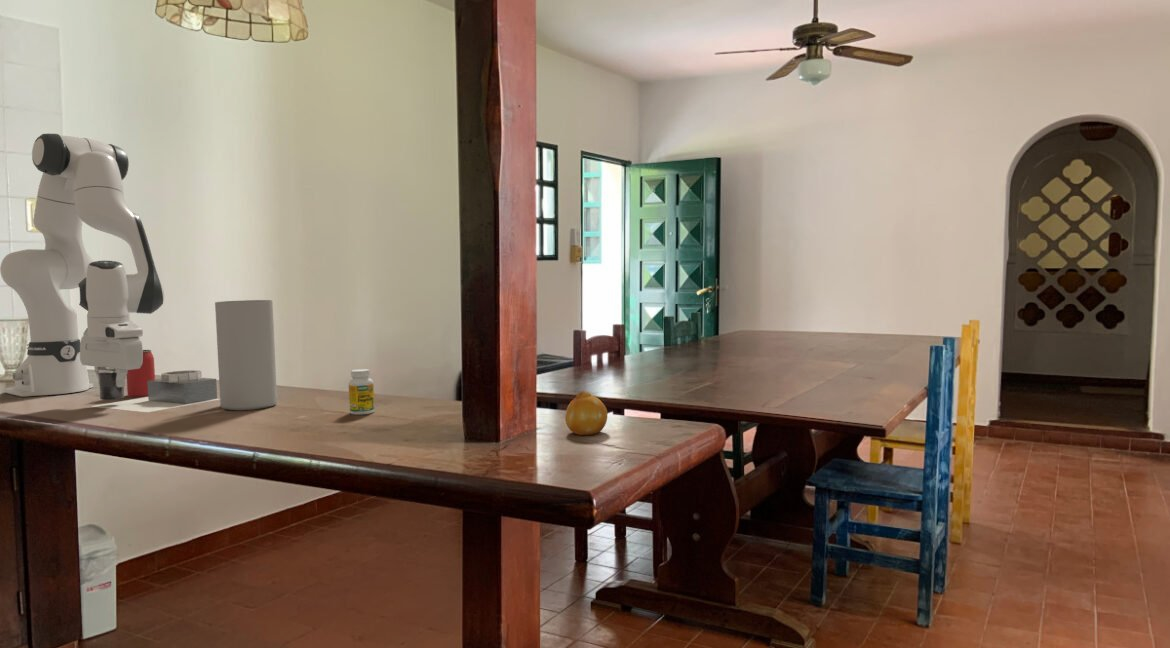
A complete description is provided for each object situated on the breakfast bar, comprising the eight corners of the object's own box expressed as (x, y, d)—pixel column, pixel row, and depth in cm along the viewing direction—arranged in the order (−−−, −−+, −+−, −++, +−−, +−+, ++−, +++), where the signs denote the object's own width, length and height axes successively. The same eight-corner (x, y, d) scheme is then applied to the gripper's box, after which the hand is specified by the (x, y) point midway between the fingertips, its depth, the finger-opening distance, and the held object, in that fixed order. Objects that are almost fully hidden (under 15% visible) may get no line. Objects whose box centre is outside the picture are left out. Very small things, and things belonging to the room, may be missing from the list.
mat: (90, 407, 201) (90, 406, 200) (166, 395, 218) (166, 394, 218) (147, 414, 190) (147, 412, 190) (222, 400, 207) (222, 399, 207)
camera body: (148, 400, 207) (146, 373, 207) (181, 395, 215) (179, 369, 215) (184, 404, 200) (183, 376, 200) (217, 398, 208) (215, 371, 208)
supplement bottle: (367, 409, 190) (365, 367, 189) (379, 412, 186) (377, 369, 185) (345, 413, 186) (343, 370, 185) (357, 415, 182) (355, 372, 181)
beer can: (121, 398, 215) (118, 352, 214) (142, 394, 221) (139, 349, 221) (142, 398, 213) (139, 352, 212) (162, 394, 220) (159, 349, 219)
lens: (95, 398, 200) (93, 369, 199) (116, 395, 204) (115, 367, 204) (107, 400, 197) (106, 371, 197) (129, 397, 202) (127, 368, 201)
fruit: (556, 417, 162) (565, 385, 158) (594, 417, 165) (604, 386, 161) (566, 446, 156) (576, 413, 151) (607, 446, 158) (617, 413, 154)
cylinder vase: (223, 404, 202) (218, 301, 200) (278, 400, 205) (273, 299, 204) (217, 412, 190) (211, 303, 188) (275, 408, 194) (270, 301, 192)
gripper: (71, 328, 202) (73, 384, 203) (120, 331, 192) (123, 391, 193) (97, 326, 207) (99, 381, 209) (147, 329, 197) (149, 387, 198)
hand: (111, 386), depth 201 cm, fingers closed on lens, 5 cm apart
